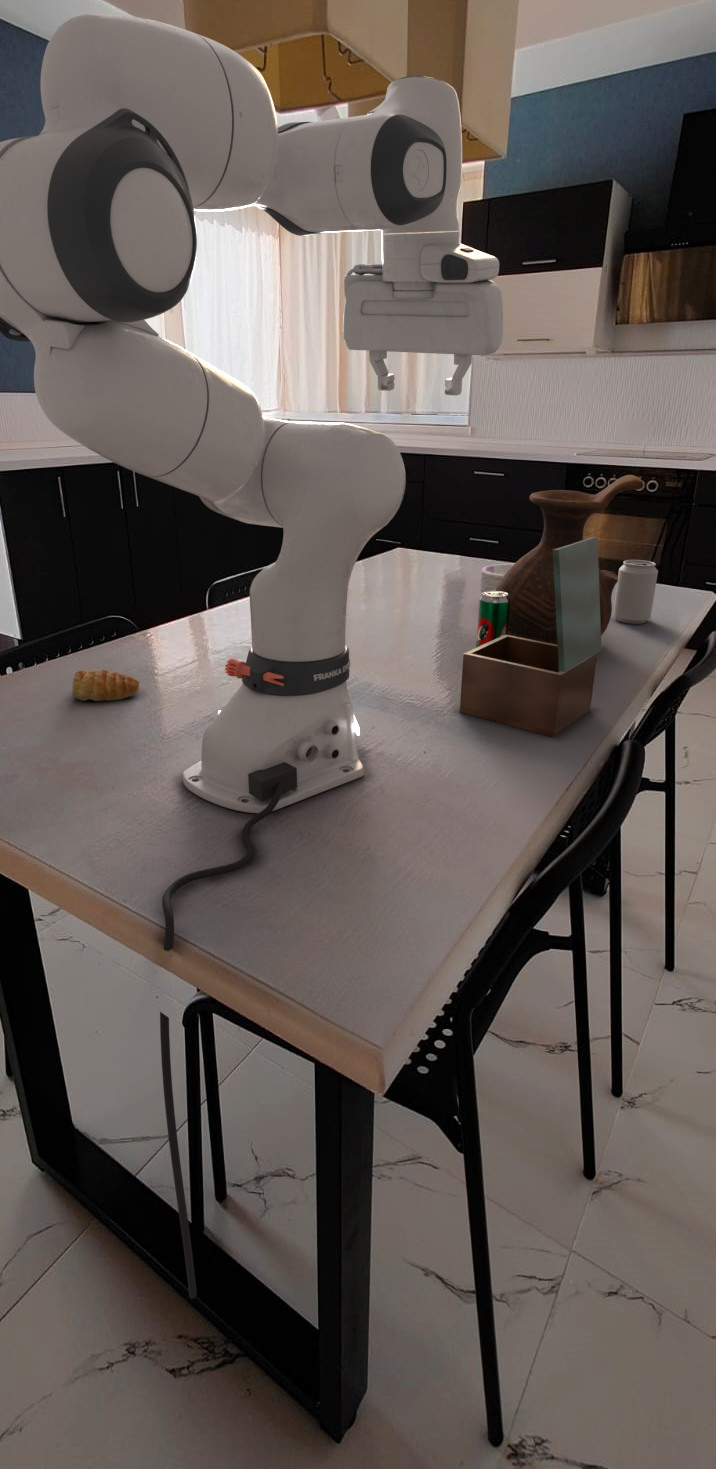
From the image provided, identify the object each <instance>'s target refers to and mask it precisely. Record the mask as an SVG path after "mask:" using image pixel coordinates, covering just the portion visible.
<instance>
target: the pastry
mask: <svg viewBox="0 0 716 1469" xmlns="http://www.w3.org/2000/svg"><path fill="white" fill-rule="evenodd" d="M139 690H140V681H139V680H137V679H136V678H134V677H132V676H131V675H130V676H128V675H127V674H124V673H118V672H115V671H108V670H107V669H100V670H98V669H91V670H89V671H85V670H77V671H76V672H75V673H74V678H73V681H72V692H71V695H72V697H74V698H76V699H77V700H80V701H86V702H87V700H92V701H94V702H98V701H99V702H102V701H109V702H110V701H117V700H118V701H119V700H122V699H126V698H128V697H134V696H135V695H137V694H138V692H139Z"/></svg>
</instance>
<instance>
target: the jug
mask: <svg viewBox="0 0 716 1469" xmlns="http://www.w3.org/2000/svg"><path fill="white" fill-rule="evenodd" d="M642 485H643V480H642V479H641V478H640V477H638V476H636V475H633V474H627V475H624V476H621V477H619V478H618V479H615V481H613V482H612V483H611V484H609V485H608V486H606V487H605V488H604V489H602V490H601V491H599V492H597V493H596V494H591V493H587V492H582V491H578V490H569V489H568V490H567V489H549V490H542V491H536V492H532V493H531V494H530V495H529V497H528V498H529V500H530V502H532V503H533V504H534V505H536V506H538V507H540V510H541V511H542V515H543V516H542V517H543V532H542V536H541V539H540V542H539V543H538V545H537V546H535V547H534V548H533V549H531V550H530V551H529V552H527V553H526V554H525V555H523V556H522V557H520V558H519V559H518V560H517V561H516V562H515V563H513V564H514V565H513V566H512V567H511V568H510V569H509V570H508V571H507V572H506V574H505V575H504V576H503V578H502V579H501V581H500V582H499V584H498V586H497V587H496V589H495V591H501V592H506V593H508V594H509V596H508V597H509V599H510V611H509V622H508V633H507V635H510V636H515V637H521V638H526V639H531V640H536V641H541V642H546V643H551V644H556V645H558V642H557V623H556V604H555V585H554V566H553V550H554V549H557V548H560V547H563V546H566V545H570V544H573V543H576V542H579V541H582V540H584V538H583V537H584V529H585V525H586V522H587V521H588V519H589V518H590V517H591V516H592V515H594V514H595V513H597V512H600V511H602V510H605V509H606V508H607V507H608V506H609V504H610V503H611V502H612V501H613V499H614V498H615V497H616V495H618V494H620V493H623V492H626V491H630V490H633V491H638V490H640V489H641V488H642ZM617 582H618V575H617V574H616V572H614V571H609V570H607V569H601V568H599V594H600V622H601V637H602V636H603V635H604V633H605V632H606V630H607V629H608V626H609V624H610V621H611V619H612V614H613V603H612V595H613V591H614V589H615V586H616V585H617Z"/></svg>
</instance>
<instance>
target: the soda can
mask: <svg viewBox="0 0 716 1469" xmlns="http://www.w3.org/2000/svg"><path fill="white" fill-rule="evenodd" d="M481 594H482V595H481V596H480V598H479V602H478V603H479V604H478V616H477V617H478V618H477V629H476V642H475V643H476V644H475V645H476V646H475V648H477V647H479V646H482V645H484V644H486V643H488V642H490V641H492V640H495V639H497V638H499V637H501V636H504V635H507V633H508V622H509V611H510V599H509V597H508V596H509V594H508V593H506V592H501V591H486V592H483V593H482V592H481Z"/></svg>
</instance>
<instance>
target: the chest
mask: <svg viewBox="0 0 716 1469" xmlns="http://www.w3.org/2000/svg"><path fill="white" fill-rule="evenodd" d="M598 656H599V652H596V653H595V654H593V655H592V656H590V657H588V658H587V659H585V660H583V661H582V662H580V663H578V664H577V665H575V666H573V667H572V668H570V669H569V670H567V671H565V672H559V660H558V645H556V644H551V643H546V642H541V641H536V640H531V639H526V638H521V637H515V636H510V635H504V636H501V637H499V638H497V639H495V640H492V641H490V642H488V643H486V644H484V645H482V646H479V647H477V648H476V647H475V648H473V649H470V650H469V651H466V652H464V653H463V655H462V657H463V658H462V670H461V684H460V685H461V686H460V698H459V699H460V701H459V713H462V714H466V715H469V716H473V717H477V718H481V719H483V720H484V719H485V720H488V721H491V722H496V723H498V724H499V723H500V724H503V725H507V726H510V727H514V728H518V729H521V730H525V731H526V730H527V731H528V732H533V733H537V734H539V735H544V736H548V737H552V738H555V737H556V736H557V735H559V734H560V733H562V732H563V731H564V730H566V729H567V728H568V727H570V726H571V725H572V724H574V723H575V722H577V721H578V720H579V719H581V718H582V717H583V716H584V715H586V714H588V713H589V712H590V711H591V707H592V701H593V692H594V686H595V679H596V672H597V666H598V658H599V657H598Z"/></svg>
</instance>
